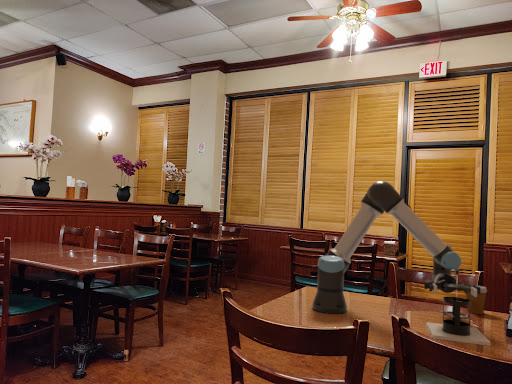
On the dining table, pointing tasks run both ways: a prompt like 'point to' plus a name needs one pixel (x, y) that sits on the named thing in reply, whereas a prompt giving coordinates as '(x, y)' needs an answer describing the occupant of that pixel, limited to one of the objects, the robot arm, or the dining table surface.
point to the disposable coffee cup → (477, 301)
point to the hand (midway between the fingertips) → (455, 291)
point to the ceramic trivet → (473, 338)
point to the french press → (456, 310)
